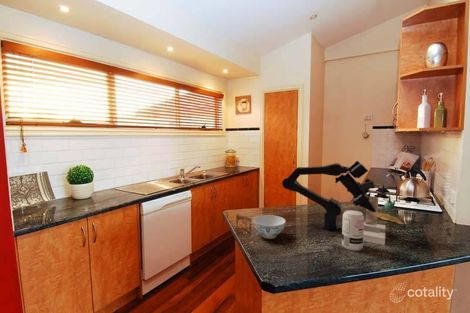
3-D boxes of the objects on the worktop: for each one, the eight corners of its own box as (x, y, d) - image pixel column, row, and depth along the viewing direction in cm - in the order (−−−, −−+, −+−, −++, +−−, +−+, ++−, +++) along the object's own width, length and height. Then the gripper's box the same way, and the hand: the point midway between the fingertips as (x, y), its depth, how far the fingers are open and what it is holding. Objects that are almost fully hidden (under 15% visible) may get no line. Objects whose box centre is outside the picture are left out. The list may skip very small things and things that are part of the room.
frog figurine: (378, 213, 152) (382, 190, 149) (408, 226, 136) (413, 200, 133) (366, 215, 148) (370, 191, 145) (396, 228, 132) (401, 202, 129)
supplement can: (344, 241, 112) (346, 208, 111) (364, 246, 107) (366, 212, 106) (339, 247, 106) (340, 213, 105) (360, 253, 101) (361, 217, 99)
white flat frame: (354, 239, 114) (354, 232, 114) (358, 226, 130) (358, 220, 129) (384, 245, 108) (385, 237, 108) (385, 231, 123) (385, 224, 123)
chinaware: (260, 244, 109) (260, 227, 109) (249, 231, 124) (249, 216, 123) (291, 240, 113) (291, 223, 112) (276, 228, 128) (277, 213, 127)
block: (365, 224, 117) (366, 197, 116) (366, 221, 121) (367, 195, 120) (376, 225, 115) (378, 199, 114) (376, 223, 119) (378, 197, 118)
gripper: (362, 176, 110) (390, 205, 105) (366, 171, 126) (390, 196, 121) (342, 192, 115) (368, 219, 110) (348, 185, 131) (371, 209, 126)
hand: (375, 210), depth 117 cm, fingers closed on block, 4 cm apart
